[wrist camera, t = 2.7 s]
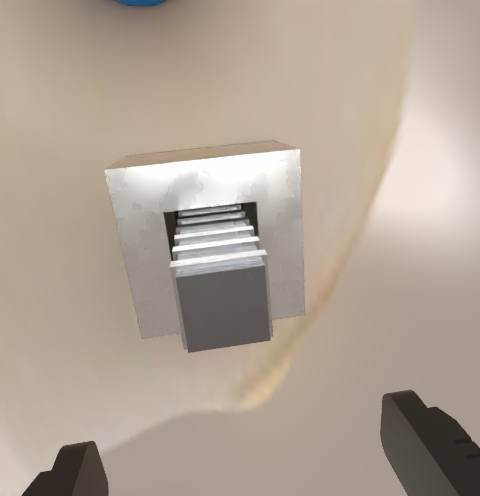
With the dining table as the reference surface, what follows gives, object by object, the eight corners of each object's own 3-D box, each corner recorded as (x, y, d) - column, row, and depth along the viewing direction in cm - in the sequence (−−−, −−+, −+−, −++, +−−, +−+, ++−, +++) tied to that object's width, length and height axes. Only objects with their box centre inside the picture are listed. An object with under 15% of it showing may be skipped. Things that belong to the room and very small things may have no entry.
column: (238, 239, 33) (275, 343, 18) (188, 245, 32) (183, 357, 17) (233, 190, 31) (270, 259, 16) (180, 196, 31) (169, 273, 16)
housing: (281, 277, 34) (305, 321, 27) (154, 294, 34) (143, 345, 26) (273, 140, 30) (300, 148, 23) (127, 155, 29) (104, 169, 22)
